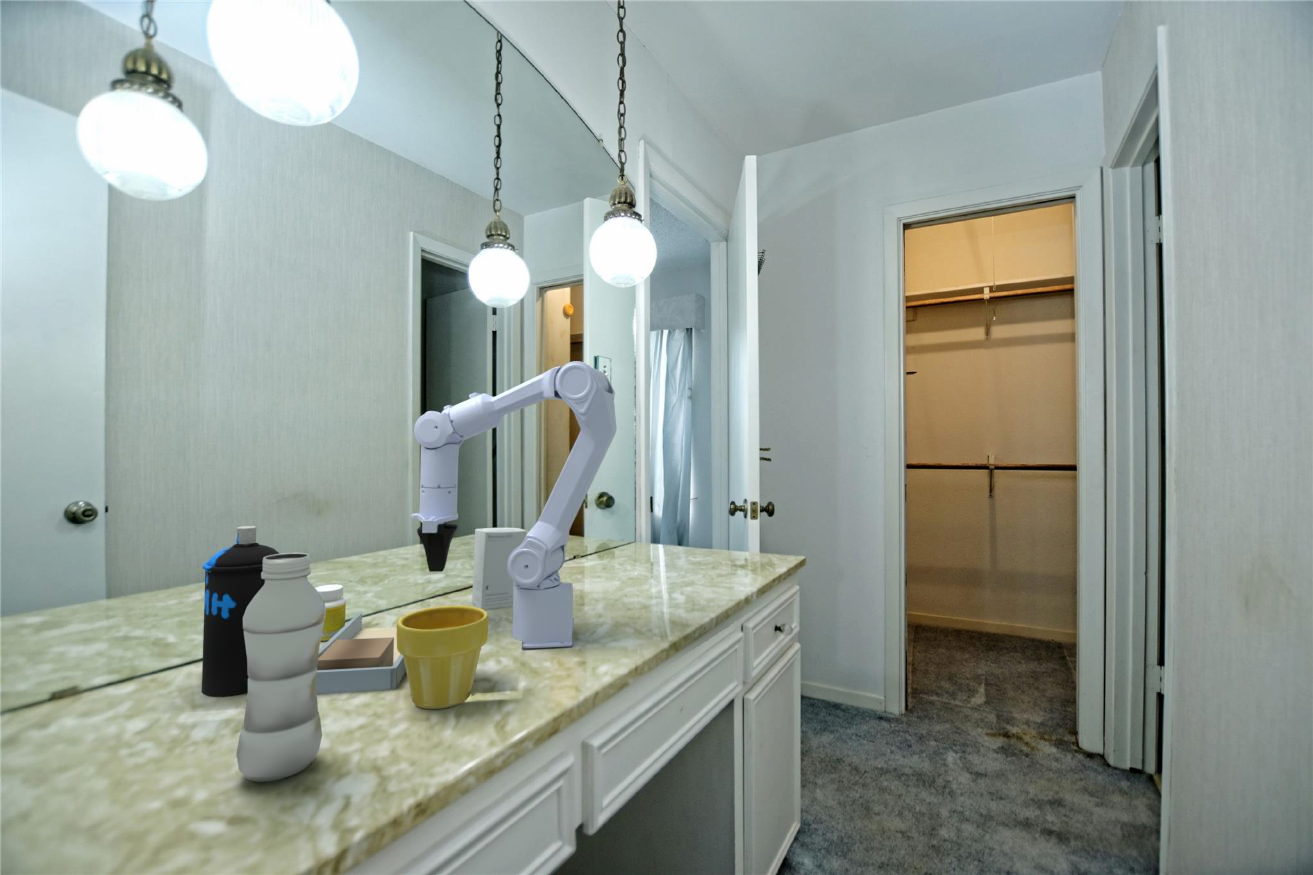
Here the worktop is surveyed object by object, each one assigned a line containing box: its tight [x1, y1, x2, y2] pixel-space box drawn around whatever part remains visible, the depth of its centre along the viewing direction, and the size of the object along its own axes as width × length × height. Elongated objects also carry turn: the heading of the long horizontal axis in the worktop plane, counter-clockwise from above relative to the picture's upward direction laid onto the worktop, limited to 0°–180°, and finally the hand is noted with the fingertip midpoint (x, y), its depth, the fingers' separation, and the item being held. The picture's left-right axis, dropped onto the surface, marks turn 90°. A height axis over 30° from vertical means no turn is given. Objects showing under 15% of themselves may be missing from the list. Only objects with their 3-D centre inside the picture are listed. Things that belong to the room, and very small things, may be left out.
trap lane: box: [316, 612, 407, 695], centre depth 79 cm, size 16×24×4 cm
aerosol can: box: [201, 525, 281, 698], centre depth 69 cm, size 8×8×20 cm
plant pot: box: [396, 605, 489, 710], centre depth 68 cm, size 10×10×10 cm
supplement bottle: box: [314, 584, 346, 643], centre depth 85 cm, size 5×5×8 cm
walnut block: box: [316, 637, 394, 670], centre depth 71 cm, size 7×7×4 cm
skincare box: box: [471, 527, 528, 611], centre depth 105 cm, size 8×6×15 cm
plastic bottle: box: [235, 552, 326, 783], centre depth 53 cm, size 6×7×20 cm
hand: (436, 570), depth 91 cm, fingers closed
